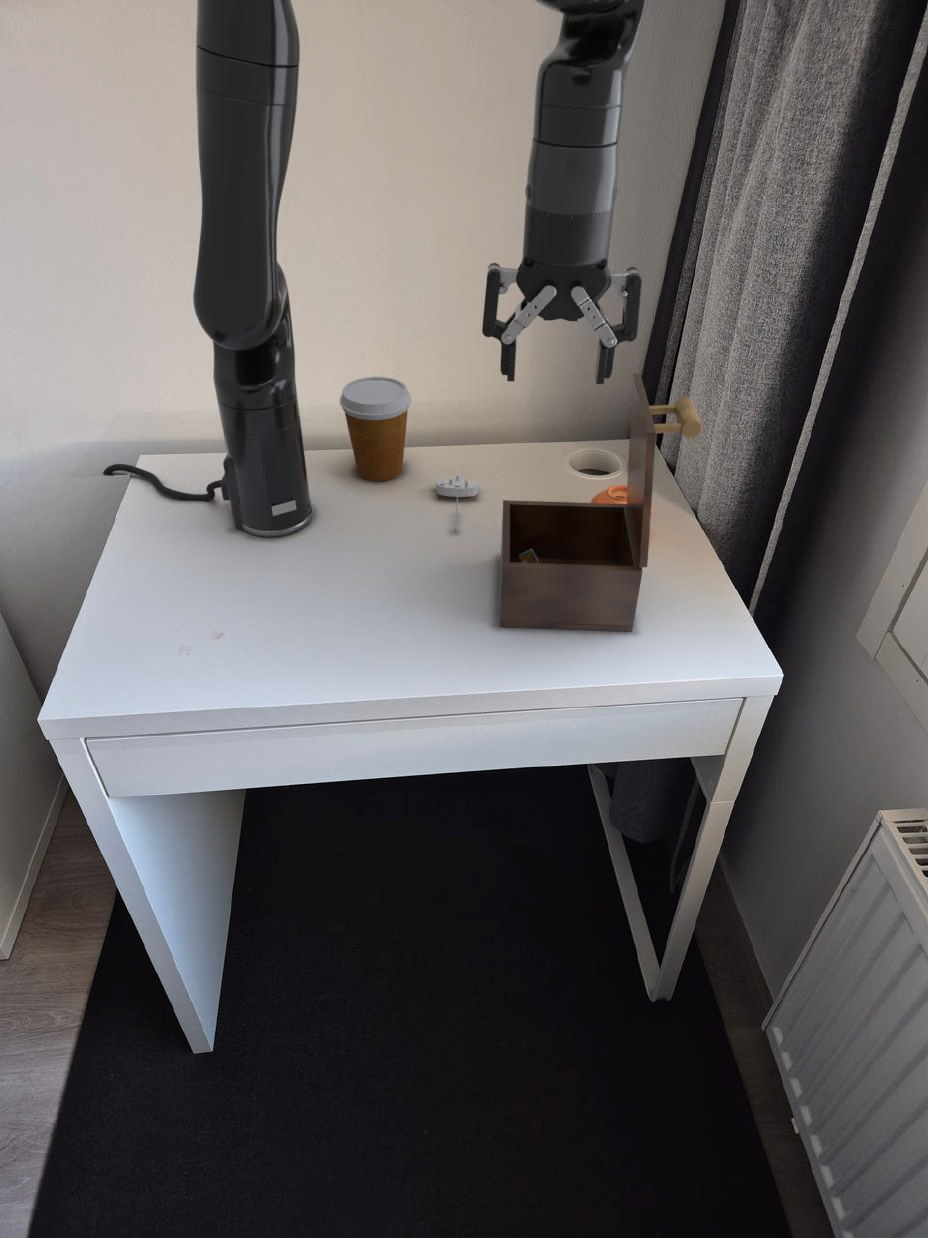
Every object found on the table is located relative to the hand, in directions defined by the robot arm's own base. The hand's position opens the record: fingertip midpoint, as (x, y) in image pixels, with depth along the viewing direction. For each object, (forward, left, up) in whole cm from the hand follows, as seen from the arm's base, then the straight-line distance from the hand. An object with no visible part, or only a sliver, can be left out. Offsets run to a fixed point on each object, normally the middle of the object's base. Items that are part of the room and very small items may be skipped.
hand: (554, 379), depth 84 cm
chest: (+3, 0, -26) cm, 26 cm away
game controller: (-11, +18, -26) cm, 34 cm away
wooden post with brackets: (0, +1, -25) cm, 25 cm away
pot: (+10, +13, -26) cm, 31 cm away
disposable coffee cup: (-22, +27, -26) cm, 44 cm away
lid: (+9, 0, -10) cm, 13 cm away
